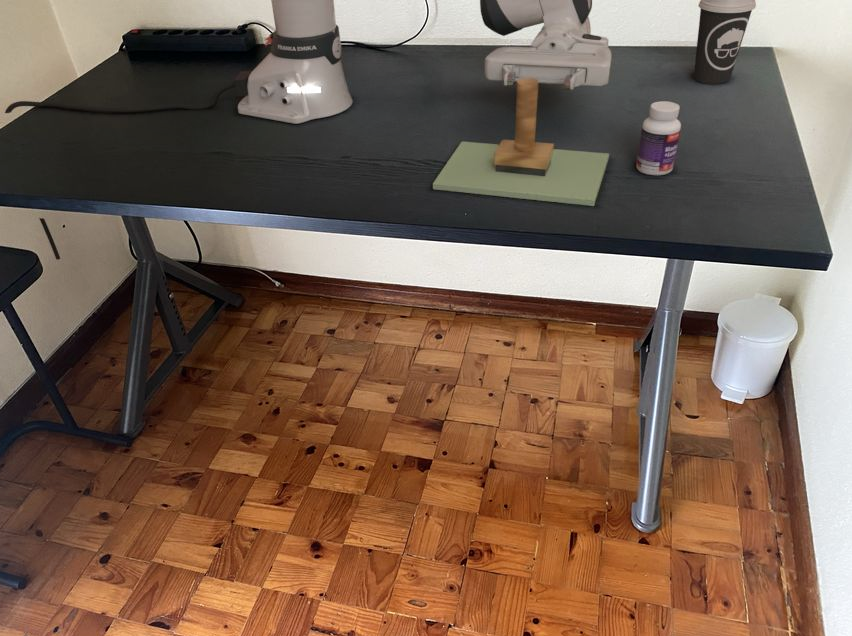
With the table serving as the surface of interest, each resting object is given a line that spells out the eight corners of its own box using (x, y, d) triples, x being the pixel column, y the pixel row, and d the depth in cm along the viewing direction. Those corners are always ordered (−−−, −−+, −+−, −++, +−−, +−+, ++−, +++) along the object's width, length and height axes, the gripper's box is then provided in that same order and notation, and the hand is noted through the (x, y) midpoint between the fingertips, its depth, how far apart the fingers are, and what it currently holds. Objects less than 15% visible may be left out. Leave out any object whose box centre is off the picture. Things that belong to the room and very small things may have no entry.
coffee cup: (743, 73, 140) (763, -12, 131) (732, 89, 134) (752, 1, 125) (692, 67, 144) (708, -16, 135) (678, 83, 138) (694, -3, 129)
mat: (432, 189, 111) (432, 183, 110) (461, 146, 122) (461, 141, 122) (594, 206, 104) (594, 200, 103) (608, 159, 115) (609, 153, 114)
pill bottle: (667, 179, 108) (678, 115, 102) (631, 172, 111) (640, 109, 105) (677, 164, 112) (689, 102, 106) (641, 158, 114) (651, 97, 108)
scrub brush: (493, 172, 112) (496, 85, 104) (502, 158, 116) (504, 73, 107) (545, 177, 109) (552, 89, 101) (552, 163, 113) (559, 77, 105)
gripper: (495, 33, 125) (473, 59, 115) (618, 38, 119) (606, 65, 109) (494, 70, 129) (473, 98, 119) (613, 77, 123) (601, 107, 113)
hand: (538, 83), depth 114 cm, fingers open, 8 cm apart
